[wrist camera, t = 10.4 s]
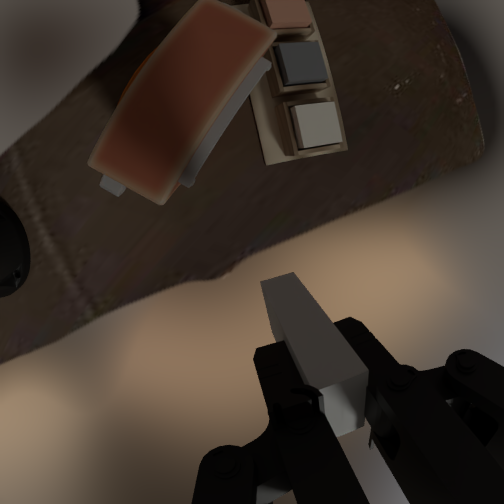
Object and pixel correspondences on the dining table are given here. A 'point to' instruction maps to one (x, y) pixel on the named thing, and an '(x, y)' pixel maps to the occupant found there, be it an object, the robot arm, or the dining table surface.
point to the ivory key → (315, 124)
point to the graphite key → (300, 63)
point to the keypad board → (288, 96)
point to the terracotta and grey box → (181, 101)
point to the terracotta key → (285, 14)
